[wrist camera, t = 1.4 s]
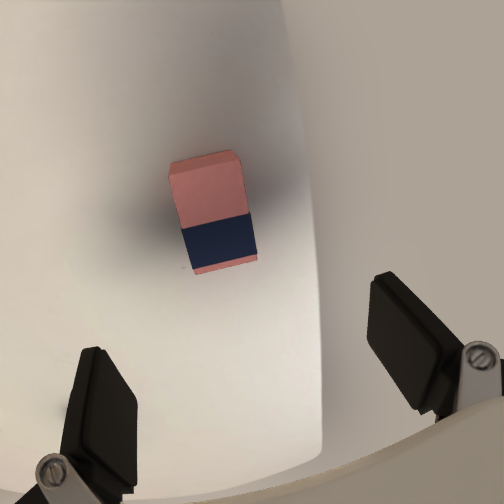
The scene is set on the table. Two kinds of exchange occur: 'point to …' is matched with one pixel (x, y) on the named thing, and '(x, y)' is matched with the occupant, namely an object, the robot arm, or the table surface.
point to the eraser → (213, 211)
